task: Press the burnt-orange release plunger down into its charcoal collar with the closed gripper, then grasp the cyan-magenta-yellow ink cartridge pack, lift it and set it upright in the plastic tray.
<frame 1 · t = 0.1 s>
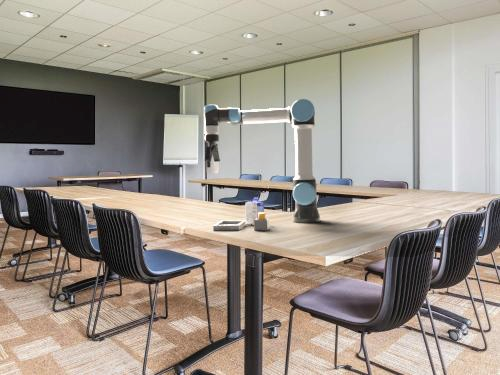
hand: (213, 173, 221), 28 cm above the table, fingers open, 13 cm apart
tray: (230, 227, 210), on the table
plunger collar: (262, 229, 202), on the table
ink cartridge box: (255, 224, 220), on the table
plunger: (261, 218, 202), point 5 cm above the table, slide at 0.0 cm
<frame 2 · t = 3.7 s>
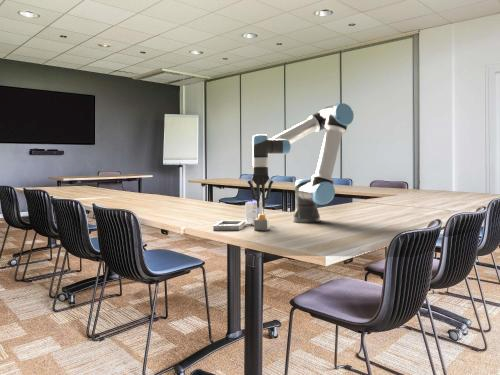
hand: (261, 214, 202), 8 cm above the table, fingers closed
plunger: (261, 219, 202), point 5 cm above the table, slide at 0.7 cm, touching gripper
everything else where it was.
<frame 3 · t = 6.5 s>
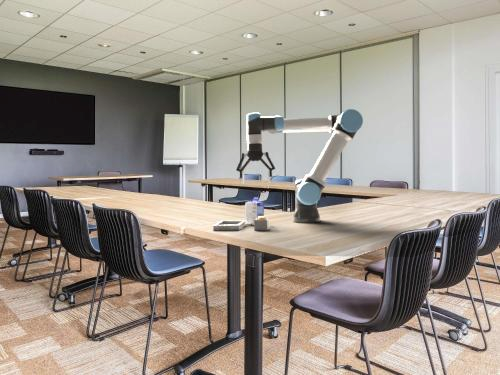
hand: (256, 184, 214), 22 cm above the table, fingers open, 13 cm apart
plunger: (261, 222, 202), point 4 cm above the table, slide at 1.9 cm
everything else where it was.
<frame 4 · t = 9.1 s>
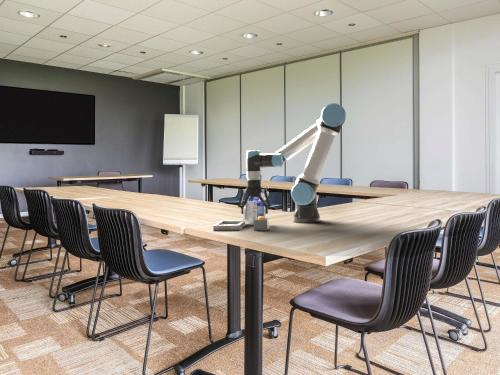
hand: (254, 220, 220), 2 cm above the table, fingers closed on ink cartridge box, 11 cm apart
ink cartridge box: (255, 224, 220), on the table, touching gripper
everything else where it was.
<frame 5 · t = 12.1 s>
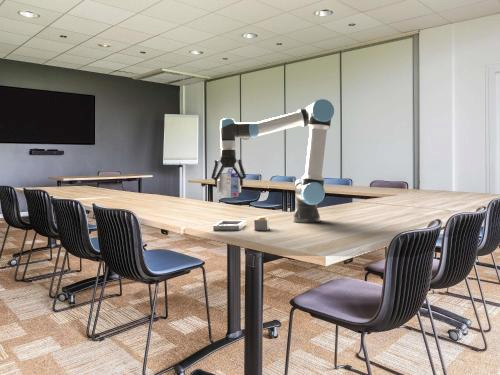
hand: (229, 192, 210), 18 cm above the table, fingers closed on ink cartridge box, 10 cm apart
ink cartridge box: (229, 197, 210), point 16 cm above the table, touching gripper
everything else where it was.
when the fingers open (5 cm above the table, at t = 15.2 s): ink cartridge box drops 2 cm, resting on tray.
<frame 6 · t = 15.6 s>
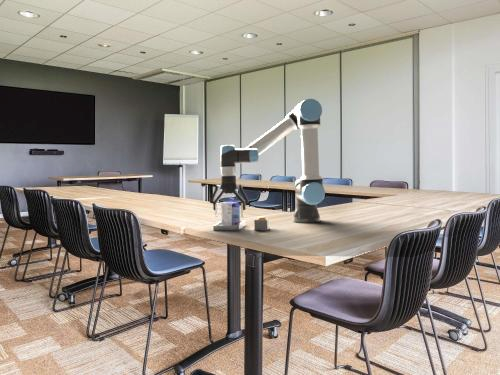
hand: (229, 216, 210), 6 cm above the table, fingers open, 13 cm apart
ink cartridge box: (230, 226, 210), point 1 cm above the table, touching tray
everything else where it was.
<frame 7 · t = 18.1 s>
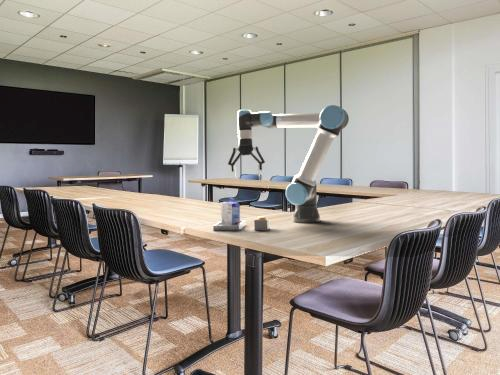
hand: (247, 177, 225), 25 cm above the table, fingers open, 13 cm apart
nothing on the table moved.
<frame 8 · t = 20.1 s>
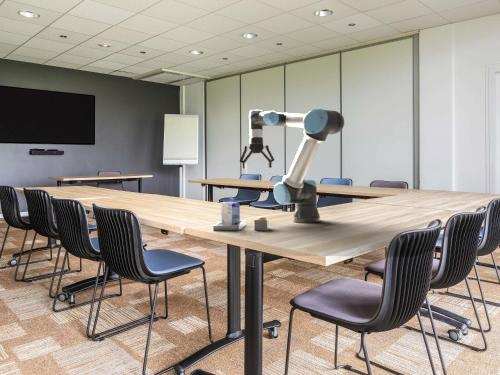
hand: (257, 174, 236), 27 cm above the table, fingers open, 13 cm apart
nothing on the table moved.
at the end: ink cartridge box inside the target area on the tray (0.4 cm from its centre), point 0.6 cm above the tray's base; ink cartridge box tilted 0°; plunger slide at 1.9 cm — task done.
